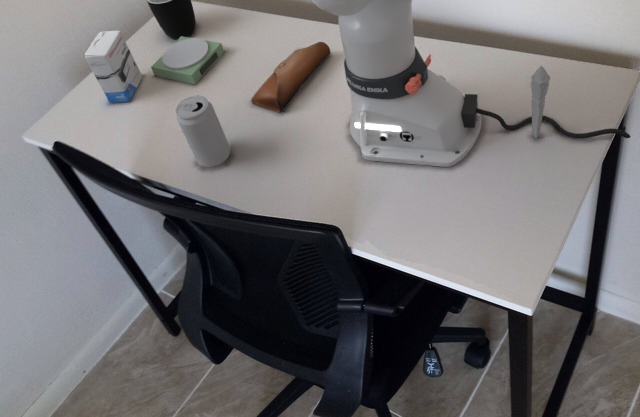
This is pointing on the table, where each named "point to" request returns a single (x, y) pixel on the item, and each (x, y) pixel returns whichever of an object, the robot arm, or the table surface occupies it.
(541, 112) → the pen
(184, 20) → the mug
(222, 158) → the beverage can
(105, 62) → the ink box
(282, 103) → the sunglasses case
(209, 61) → the scale
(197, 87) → the table surface
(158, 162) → the table surface
